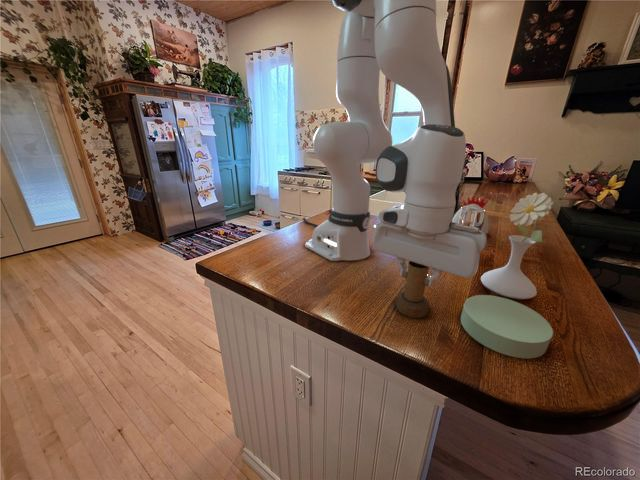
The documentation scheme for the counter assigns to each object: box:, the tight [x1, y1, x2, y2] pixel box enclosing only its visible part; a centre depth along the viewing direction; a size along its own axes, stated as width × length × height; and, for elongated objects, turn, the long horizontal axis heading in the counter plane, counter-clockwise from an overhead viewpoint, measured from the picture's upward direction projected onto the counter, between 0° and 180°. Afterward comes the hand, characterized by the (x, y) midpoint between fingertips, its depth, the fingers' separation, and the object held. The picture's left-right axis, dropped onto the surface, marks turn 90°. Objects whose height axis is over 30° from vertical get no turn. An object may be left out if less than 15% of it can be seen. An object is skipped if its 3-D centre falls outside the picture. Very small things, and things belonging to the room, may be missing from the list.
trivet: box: [460, 294, 554, 359], centre depth 50 cm, size 14×14×4 cm
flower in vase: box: [480, 192, 554, 300], centre depth 58 cm, size 13×11×25 cm
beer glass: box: [458, 206, 487, 234], centre depth 81 cm, size 7×7×15 cm
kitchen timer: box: [452, 195, 490, 237], centre depth 101 cm, size 14×14×15 cm
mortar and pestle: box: [395, 261, 430, 319], centre depth 53 cm, size 7×6×18 cm
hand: (415, 280), depth 54 cm, fingers closed on mortar and pestle, 4 cm apart
